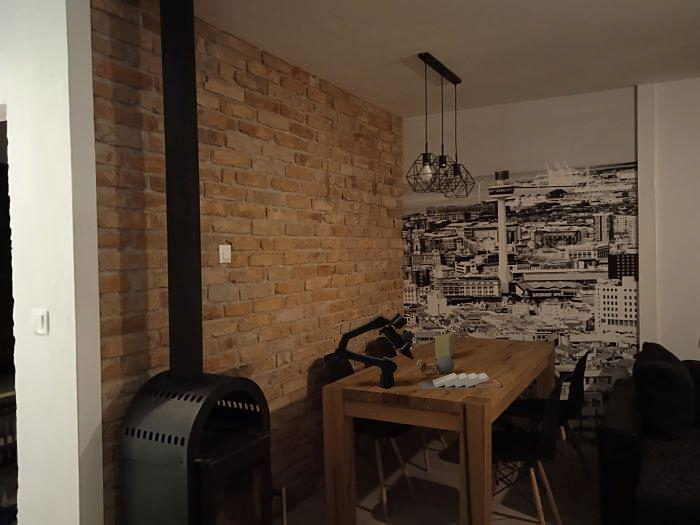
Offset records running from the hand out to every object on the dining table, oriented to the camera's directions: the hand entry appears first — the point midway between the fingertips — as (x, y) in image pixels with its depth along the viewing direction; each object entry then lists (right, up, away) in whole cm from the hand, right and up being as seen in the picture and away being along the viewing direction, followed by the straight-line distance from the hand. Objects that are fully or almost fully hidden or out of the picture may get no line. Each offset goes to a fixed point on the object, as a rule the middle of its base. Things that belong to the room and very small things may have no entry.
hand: (413, 358), depth 287 cm
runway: (+20, -14, -1) cm, 24 cm away
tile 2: (+15, -12, -1) cm, 20 cm away
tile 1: (+10, -12, -1) cm, 16 cm away
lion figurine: (+11, -14, +25) cm, 31 cm away
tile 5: (+30, -12, -1) cm, 33 cm away
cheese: (+31, -12, +79) cm, 86 cm away
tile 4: (+25, -12, -1) cm, 28 cm away
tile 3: (+20, -12, -1) cm, 24 cm away
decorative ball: (+21, -13, +30) cm, 39 cm away
